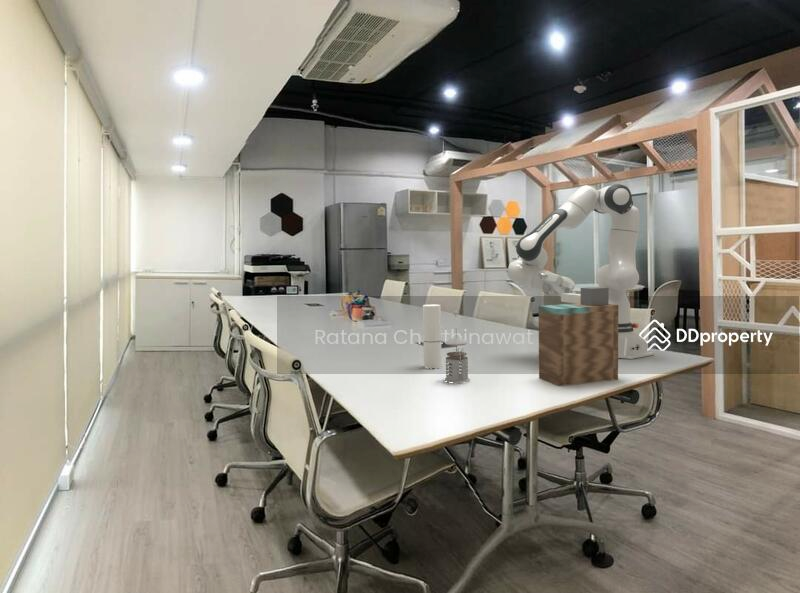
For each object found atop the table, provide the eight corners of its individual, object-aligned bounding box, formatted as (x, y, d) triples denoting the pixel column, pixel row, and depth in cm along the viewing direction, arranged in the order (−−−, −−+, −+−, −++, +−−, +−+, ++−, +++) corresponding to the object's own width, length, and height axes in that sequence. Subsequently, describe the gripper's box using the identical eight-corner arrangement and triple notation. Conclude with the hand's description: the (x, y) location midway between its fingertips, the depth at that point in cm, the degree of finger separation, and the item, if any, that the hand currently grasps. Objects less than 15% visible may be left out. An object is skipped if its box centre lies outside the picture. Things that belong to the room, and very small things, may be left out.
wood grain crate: (595, 372, 196) (595, 302, 194) (618, 379, 184) (618, 305, 182) (539, 378, 188) (538, 305, 186) (558, 385, 177) (558, 308, 175)
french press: (465, 376, 195) (464, 309, 193) (476, 383, 183) (475, 312, 181) (439, 378, 192) (438, 310, 190) (449, 385, 181) (448, 313, 179)
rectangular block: (573, 300, 202) (573, 285, 202) (608, 305, 183) (608, 287, 183) (557, 301, 200) (557, 285, 200) (591, 306, 181) (591, 288, 181)
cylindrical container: (441, 365, 215) (440, 304, 213) (441, 369, 208) (440, 306, 206) (424, 365, 216) (423, 304, 214) (423, 369, 208) (422, 306, 206)
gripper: (540, 265, 207) (573, 275, 199) (553, 281, 224) (584, 291, 216) (533, 279, 207) (566, 290, 199) (547, 295, 223) (578, 305, 216)
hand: (576, 290), depth 208 cm, fingers open, 8 cm apart
